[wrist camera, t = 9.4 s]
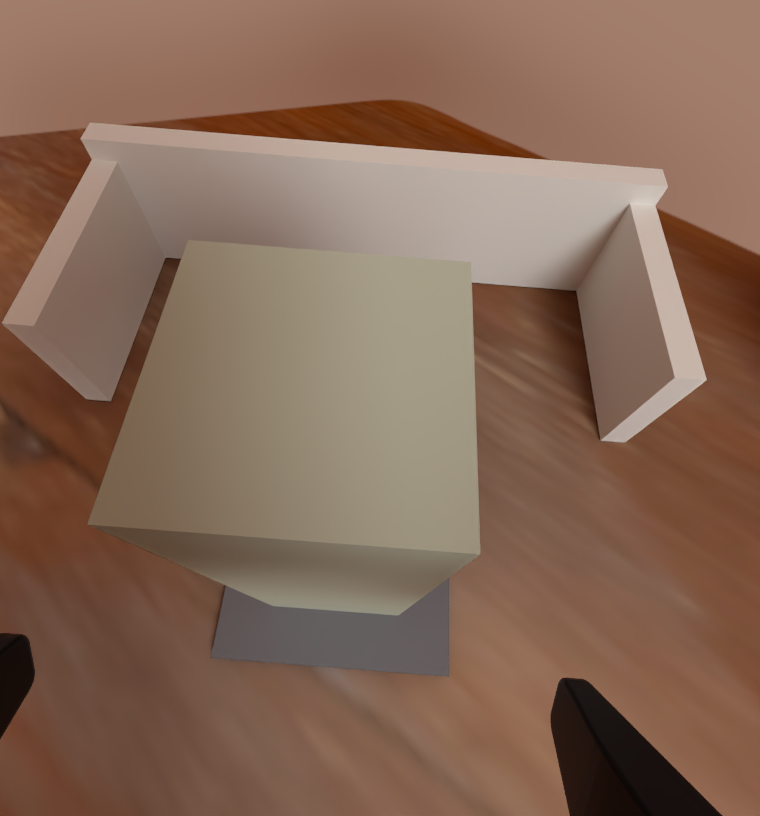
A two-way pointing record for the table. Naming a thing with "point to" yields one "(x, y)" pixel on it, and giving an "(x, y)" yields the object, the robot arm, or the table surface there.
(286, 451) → the sage block
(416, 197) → the open bay
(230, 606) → the charcoal mat
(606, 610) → the table surface
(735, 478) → the table surface
